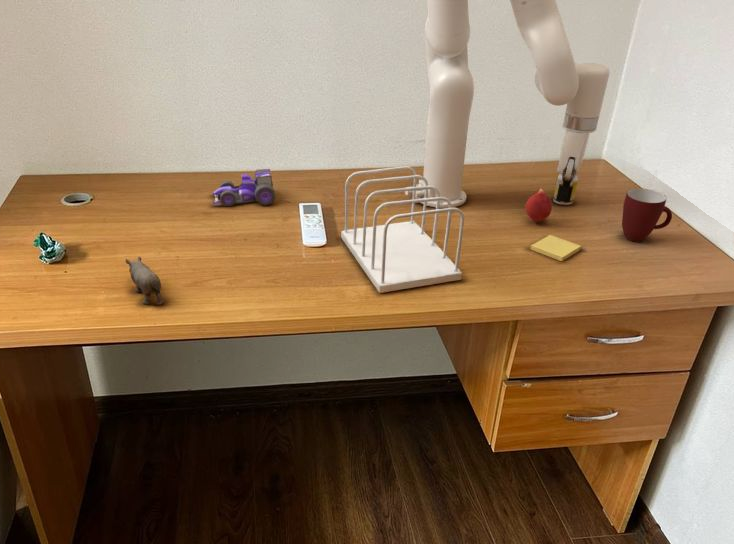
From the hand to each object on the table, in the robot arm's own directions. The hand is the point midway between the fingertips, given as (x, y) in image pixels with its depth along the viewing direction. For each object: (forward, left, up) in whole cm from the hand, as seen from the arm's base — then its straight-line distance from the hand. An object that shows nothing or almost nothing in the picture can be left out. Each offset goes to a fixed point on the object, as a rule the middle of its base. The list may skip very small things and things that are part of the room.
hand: (564, 196), depth 163 cm
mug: (+2, -23, -2) cm, 23 cm away
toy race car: (-72, +33, -2) cm, 79 cm away
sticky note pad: (-19, -20, -1) cm, 28 cm away
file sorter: (-52, -10, -2) cm, 53 cm away
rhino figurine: (-103, -2, -2) cm, 103 cm away
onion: (-14, -7, -2) cm, 16 cm away
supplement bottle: (0, 0, -2) cm, 2 cm away
